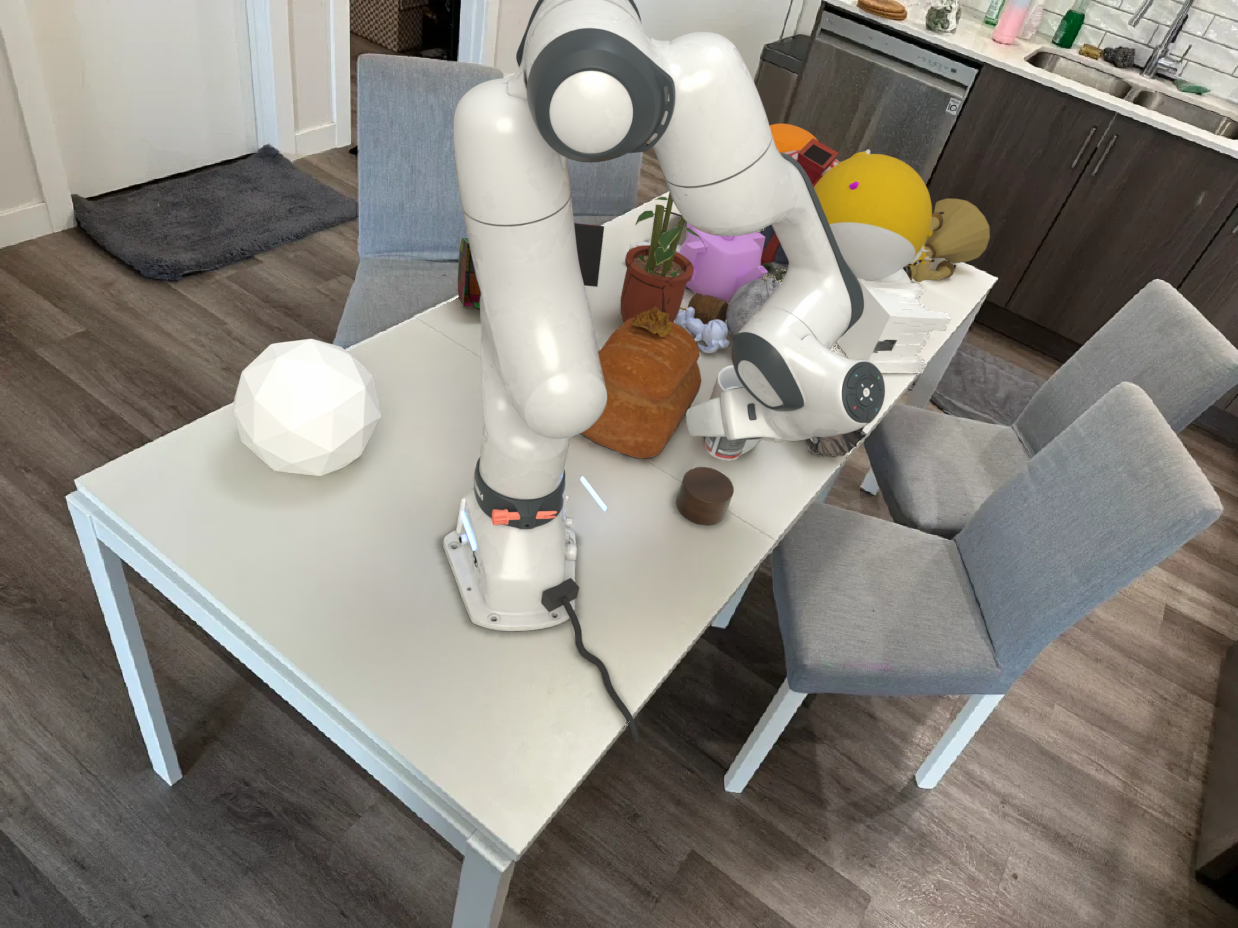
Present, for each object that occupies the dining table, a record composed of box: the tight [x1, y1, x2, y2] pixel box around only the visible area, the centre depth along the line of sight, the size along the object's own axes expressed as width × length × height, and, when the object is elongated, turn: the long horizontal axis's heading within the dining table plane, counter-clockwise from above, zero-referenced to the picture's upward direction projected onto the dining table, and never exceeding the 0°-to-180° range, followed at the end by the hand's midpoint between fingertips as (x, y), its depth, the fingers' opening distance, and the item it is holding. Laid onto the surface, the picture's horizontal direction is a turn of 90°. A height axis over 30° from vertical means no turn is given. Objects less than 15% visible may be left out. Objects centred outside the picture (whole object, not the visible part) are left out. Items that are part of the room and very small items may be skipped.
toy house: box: [758, 138, 841, 266], centre depth 193 cm, size 22×22×30 cm
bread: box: [581, 317, 702, 460], centre depth 141 cm, size 18×22×17 cm
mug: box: [709, 364, 761, 456], centre depth 144 cm, size 15×11×13 cm
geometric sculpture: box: [232, 338, 382, 477], centre depth 120 cm, size 19×20×20 cm
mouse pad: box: [664, 209, 682, 218], centre depth 198 cm, size 25×21×1 cm
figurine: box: [903, 198, 991, 283], centre depth 209 cm, size 17×13×30 cm
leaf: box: [631, 306, 672, 337], centre depth 138 cm, size 6×7×2 cm
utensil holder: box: [679, 289, 729, 325], centre depth 175 cm, size 6×6×12 cm
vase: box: [769, 123, 819, 153], centre depth 209 cm, size 17×17×25 cm
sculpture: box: [803, 427, 867, 458], centre depth 153 cm, size 12×12×28 cm
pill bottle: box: [704, 386, 746, 461], centre depth 122 cm, size 6×6×10 cm
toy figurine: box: [674, 307, 731, 355], centre depth 168 cm, size 7×6×12 cm
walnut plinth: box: [675, 466, 735, 527], centre depth 132 cm, size 8×8×5 cm
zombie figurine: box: [761, 262, 789, 281], centre depth 193 cm, size 5×7×15 cm
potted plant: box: [619, 192, 707, 323], centre depth 157 cm, size 17×16×35 cm
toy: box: [814, 149, 933, 281], centre depth 174 cm, size 26×26×30 cm
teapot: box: [679, 221, 769, 304], centre depth 181 cm, size 19×18×15 cm
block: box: [457, 222, 605, 309], centre depth 164 cm, size 25×17×14 cm
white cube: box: [836, 278, 952, 374], centre depth 175 cm, size 14×14×15 cm
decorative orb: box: [725, 277, 781, 340], centre depth 167 cm, size 15×14×15 cm
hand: (729, 418), depth 122 cm, fingers closed on pill bottle, 6 cm apart
